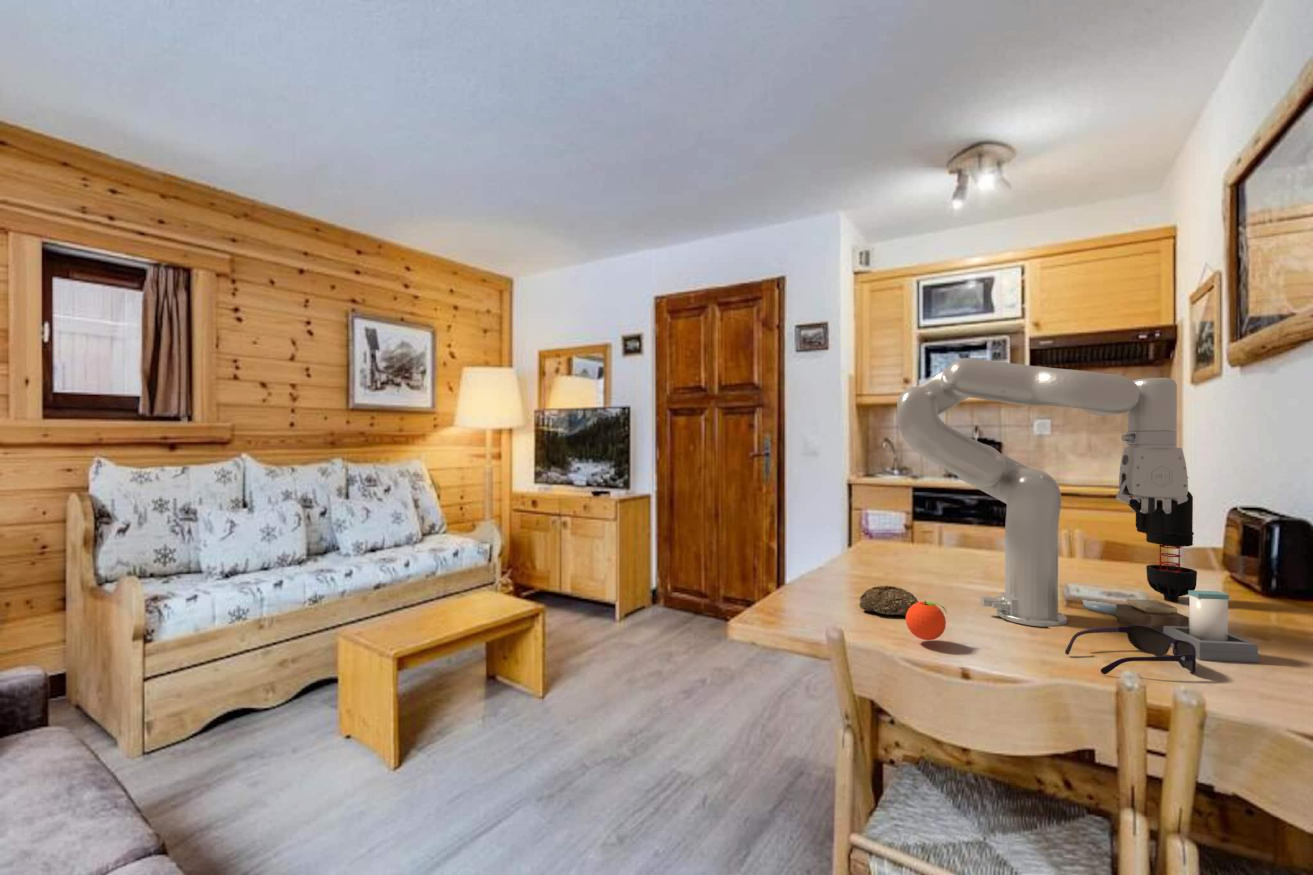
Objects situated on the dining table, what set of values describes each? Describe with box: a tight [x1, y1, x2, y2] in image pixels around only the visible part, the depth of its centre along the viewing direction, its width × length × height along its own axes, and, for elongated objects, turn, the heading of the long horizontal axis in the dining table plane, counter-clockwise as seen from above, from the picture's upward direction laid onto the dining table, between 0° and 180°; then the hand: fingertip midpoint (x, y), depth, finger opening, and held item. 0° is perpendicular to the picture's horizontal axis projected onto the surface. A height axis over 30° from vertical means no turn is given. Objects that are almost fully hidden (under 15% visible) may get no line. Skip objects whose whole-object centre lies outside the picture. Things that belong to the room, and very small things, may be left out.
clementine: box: [905, 600, 948, 641], centre depth 112 cm, size 8×7×7 cm
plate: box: [1082, 599, 1116, 616], centre depth 131 cm, size 10×10×1 cm
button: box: [1126, 598, 1178, 615], centre depth 118 cm, size 6×6×3 cm
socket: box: [1163, 626, 1260, 663], centre depth 105 cm, size 9×9×3 cm
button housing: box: [1115, 604, 1189, 632], centre depth 118 cm, size 8×8×4 cm
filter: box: [1145, 476, 1198, 603], centre depth 139 cm, size 14×9×30 cm
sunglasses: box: [1064, 625, 1197, 675], centre depth 100 cm, size 14×16×5 cm
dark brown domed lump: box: [859, 585, 920, 617], centre depth 133 cm, size 13×12×5 cm
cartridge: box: [1187, 590, 1230, 641], centre depth 105 cm, size 5×5×9 cm
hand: (1151, 532), depth 118 cm, fingers closed
